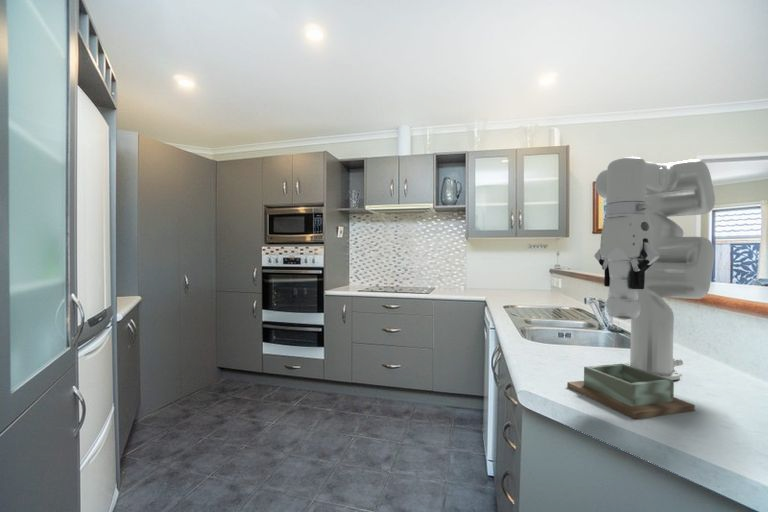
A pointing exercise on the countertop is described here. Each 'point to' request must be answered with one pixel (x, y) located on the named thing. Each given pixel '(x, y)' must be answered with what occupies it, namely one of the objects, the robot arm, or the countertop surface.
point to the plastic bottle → (621, 287)
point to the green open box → (630, 391)
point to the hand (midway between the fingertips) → (623, 286)
